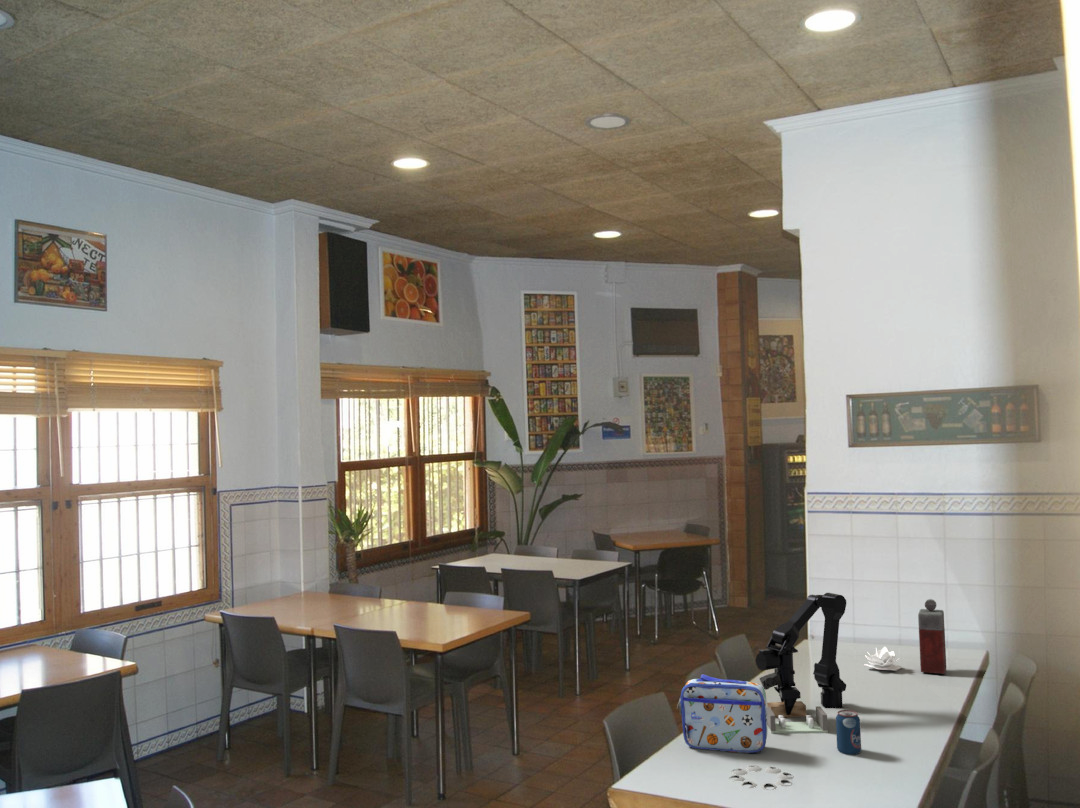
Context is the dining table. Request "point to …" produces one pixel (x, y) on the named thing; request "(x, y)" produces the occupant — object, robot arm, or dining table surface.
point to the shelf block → (779, 709)
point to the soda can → (848, 732)
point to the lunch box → (724, 715)
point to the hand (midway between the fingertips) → (786, 712)
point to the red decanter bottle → (932, 639)
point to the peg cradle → (798, 723)
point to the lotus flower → (882, 660)
